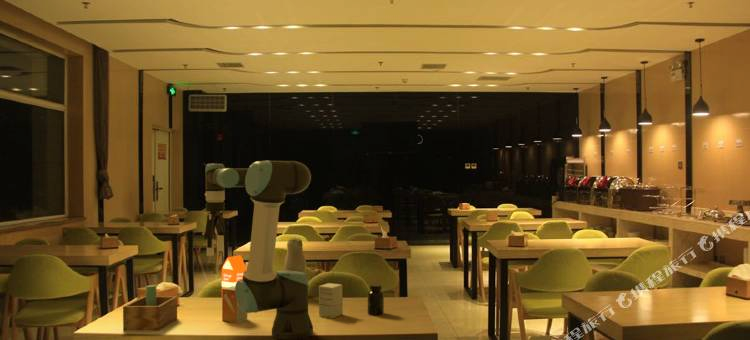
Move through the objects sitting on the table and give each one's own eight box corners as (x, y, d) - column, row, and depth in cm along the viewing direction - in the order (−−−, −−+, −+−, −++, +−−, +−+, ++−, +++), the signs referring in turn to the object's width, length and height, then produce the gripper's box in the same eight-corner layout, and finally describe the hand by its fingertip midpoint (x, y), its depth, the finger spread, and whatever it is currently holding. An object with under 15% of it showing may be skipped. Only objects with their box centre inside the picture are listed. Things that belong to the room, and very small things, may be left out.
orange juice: (246, 297, 277) (246, 255, 277) (233, 301, 270) (233, 258, 270) (235, 295, 281) (234, 254, 281) (221, 299, 274) (221, 256, 274)
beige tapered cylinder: (309, 295, 282) (308, 237, 282) (300, 299, 272) (300, 239, 272) (290, 293, 284) (289, 236, 285) (281, 298, 275) (281, 239, 275)
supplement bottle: (364, 314, 242) (364, 285, 242) (372, 311, 248) (372, 283, 248) (379, 316, 239) (379, 287, 239) (386, 312, 245) (386, 284, 245)
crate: (177, 318, 238) (177, 296, 238) (159, 330, 220) (159, 306, 220) (143, 318, 238) (143, 296, 238) (123, 330, 220) (123, 306, 220)
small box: (221, 320, 234) (221, 288, 234) (233, 317, 239) (232, 285, 239) (237, 323, 230) (236, 290, 230) (247, 319, 235) (247, 287, 235)
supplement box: (328, 312, 246) (328, 282, 247) (343, 314, 243) (343, 284, 243) (318, 316, 240) (318, 285, 240) (333, 318, 236) (332, 287, 236)
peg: (158, 321, 229) (157, 286, 229) (147, 323, 226) (147, 287, 226) (154, 319, 232) (154, 284, 232) (144, 321, 229) (144, 286, 230)
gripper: (215, 200, 250) (215, 249, 250) (195, 203, 225) (196, 257, 225) (232, 199, 249) (233, 249, 249) (215, 203, 224) (215, 257, 224)
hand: (215, 253), depth 237 cm, fingers open, 13 cm apart
